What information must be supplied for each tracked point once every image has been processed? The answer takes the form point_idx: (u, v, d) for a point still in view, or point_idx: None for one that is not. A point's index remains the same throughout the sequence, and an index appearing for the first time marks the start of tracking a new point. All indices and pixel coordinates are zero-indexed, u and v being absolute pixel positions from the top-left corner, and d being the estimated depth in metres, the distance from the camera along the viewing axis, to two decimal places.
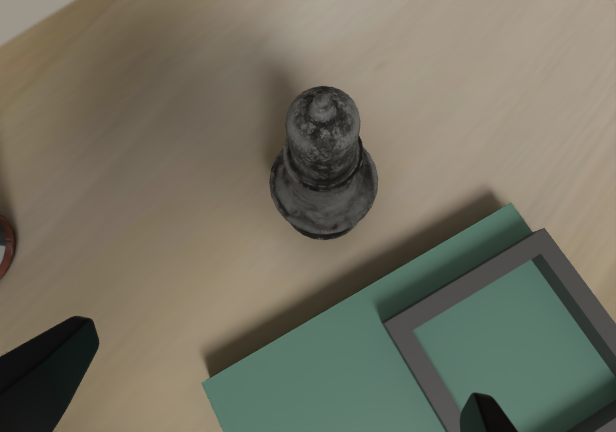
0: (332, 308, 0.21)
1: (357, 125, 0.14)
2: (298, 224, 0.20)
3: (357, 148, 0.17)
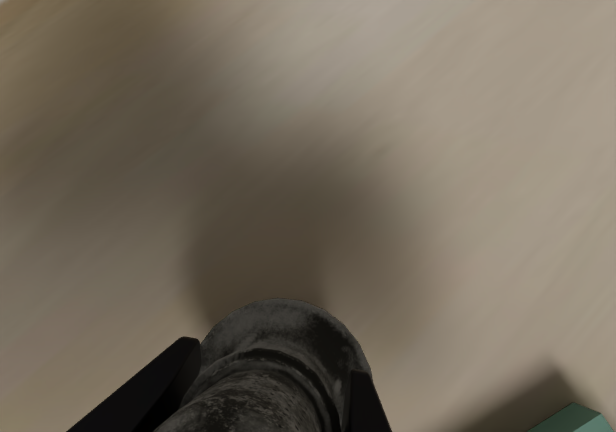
0: None
1: None
2: None
3: None
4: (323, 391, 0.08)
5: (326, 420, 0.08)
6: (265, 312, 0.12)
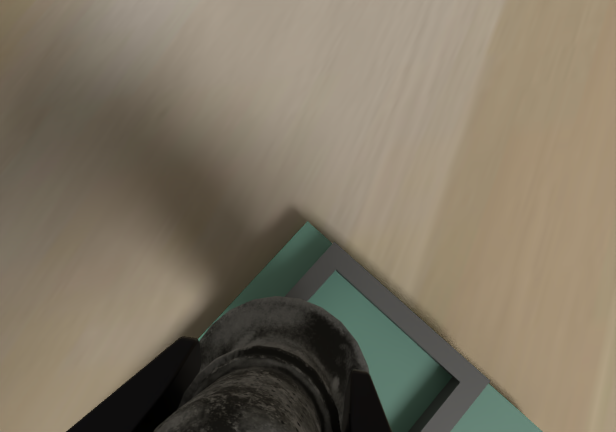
0: None
1: None
2: None
3: None
4: (322, 388, 0.08)
5: (326, 416, 0.08)
6: (263, 310, 0.12)
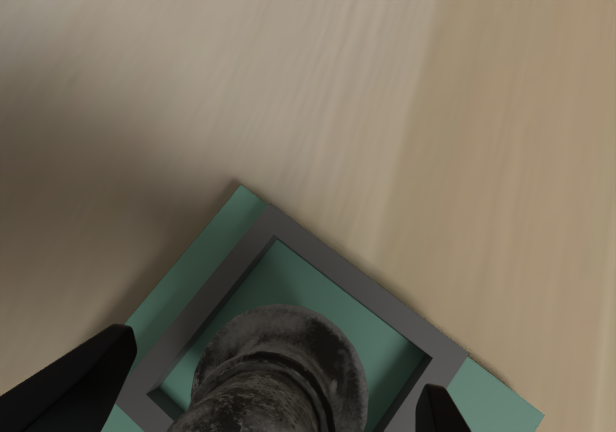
0: None
1: None
2: None
3: None
4: (319, 390, 0.09)
5: (322, 416, 0.09)
6: (267, 316, 0.13)
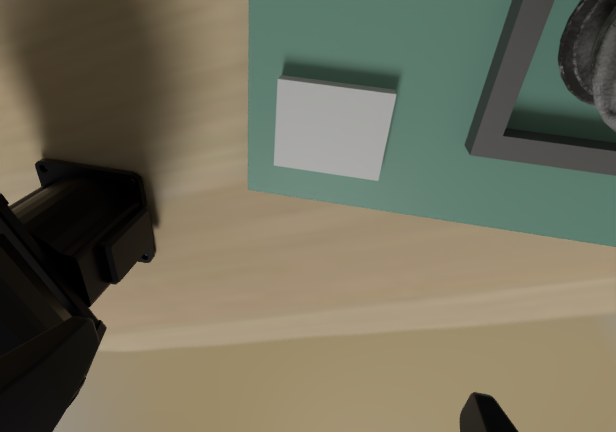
0: None
1: None
2: (604, 54, 0.11)
3: None
4: None
5: None
6: None
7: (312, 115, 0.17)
